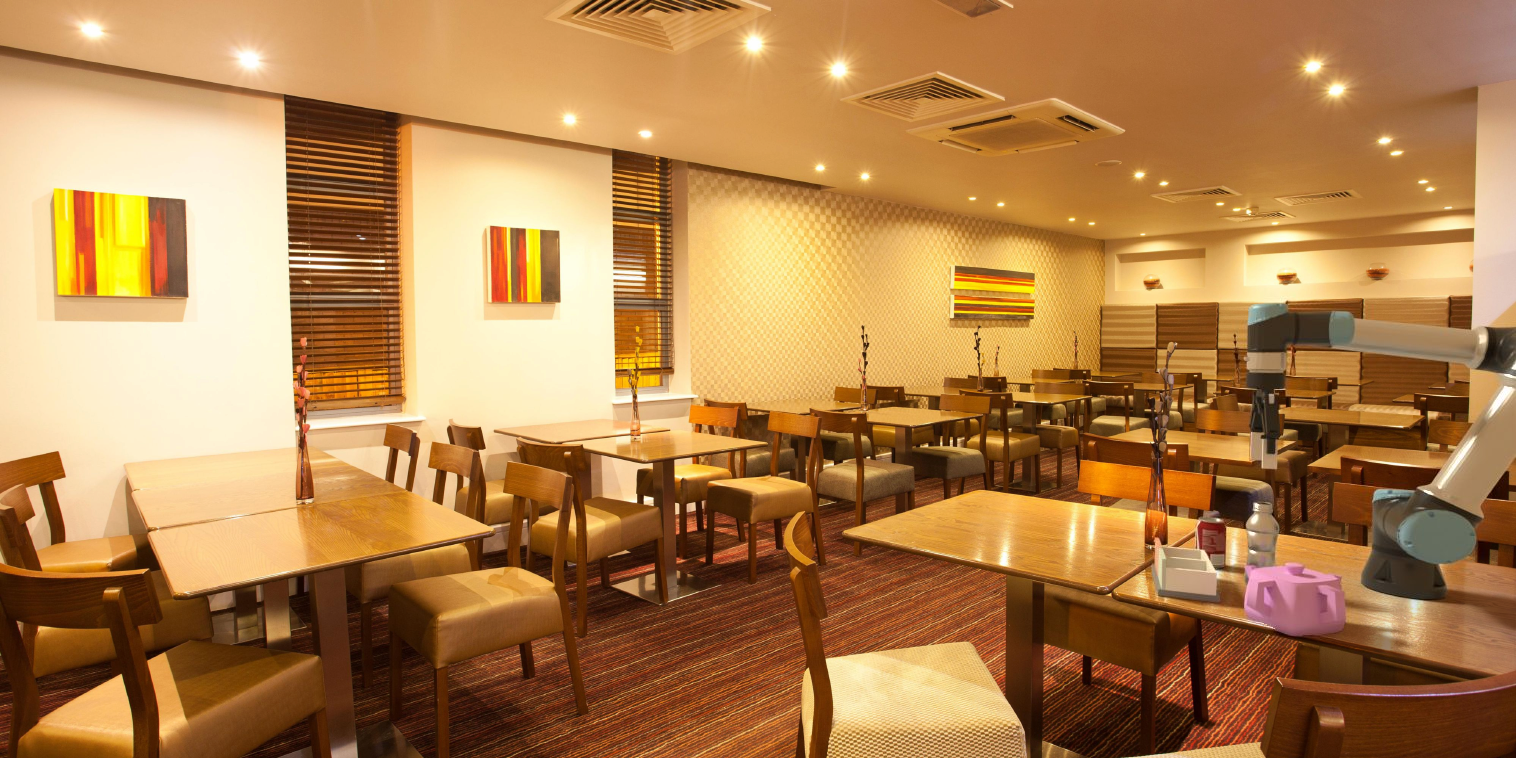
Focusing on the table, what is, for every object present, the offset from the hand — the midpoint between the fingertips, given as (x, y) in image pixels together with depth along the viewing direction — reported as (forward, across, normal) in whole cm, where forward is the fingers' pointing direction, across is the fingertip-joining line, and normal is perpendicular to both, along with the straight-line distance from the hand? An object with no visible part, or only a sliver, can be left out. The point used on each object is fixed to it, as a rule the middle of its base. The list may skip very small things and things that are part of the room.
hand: (1262, 464), depth 174 cm
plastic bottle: (+29, 0, 0) cm, 29 cm away
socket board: (+29, +4, -16) cm, 33 cm away
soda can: (+29, -17, -8) cm, 35 cm away
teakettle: (+29, +22, +2) cm, 37 cm away
